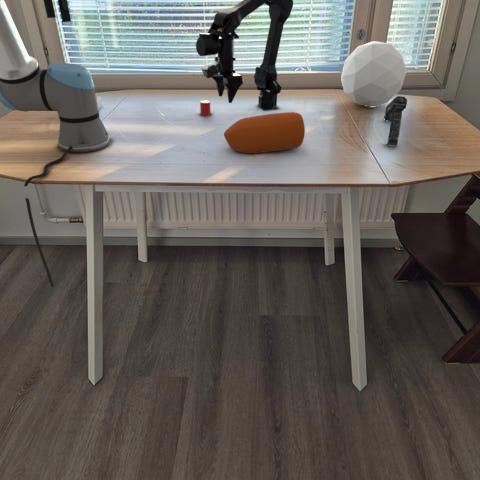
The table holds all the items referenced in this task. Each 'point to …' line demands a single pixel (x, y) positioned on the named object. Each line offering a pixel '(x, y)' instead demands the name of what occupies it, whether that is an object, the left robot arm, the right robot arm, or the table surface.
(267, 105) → the right robot arm
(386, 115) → the futuristic handgun
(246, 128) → the orange tapered rounded cylinder
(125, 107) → the table surface
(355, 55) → the decorative sphere
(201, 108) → the can
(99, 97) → the charger
